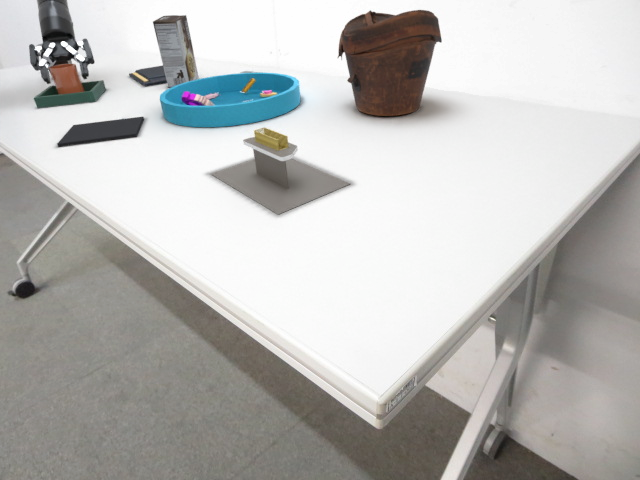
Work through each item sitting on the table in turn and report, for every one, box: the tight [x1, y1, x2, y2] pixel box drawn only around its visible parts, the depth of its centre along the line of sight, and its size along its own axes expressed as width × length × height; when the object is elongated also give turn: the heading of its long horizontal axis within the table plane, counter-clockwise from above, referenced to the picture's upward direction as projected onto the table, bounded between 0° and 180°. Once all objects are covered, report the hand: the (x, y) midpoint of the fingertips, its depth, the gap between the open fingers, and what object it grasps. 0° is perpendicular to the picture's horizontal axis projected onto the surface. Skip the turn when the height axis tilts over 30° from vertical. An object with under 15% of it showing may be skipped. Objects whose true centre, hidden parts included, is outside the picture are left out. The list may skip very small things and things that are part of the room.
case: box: [337, 9, 443, 117], centre depth 85 cm, size 18×20×18 cm
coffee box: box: [152, 14, 199, 88], centre depth 117 cm, size 9×6×16 cm
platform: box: [210, 126, 351, 215], centre depth 61 cm, size 12×18×7 cm, turn 39°
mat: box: [56, 116, 145, 148], centre depth 88 cm, size 14×12×1 cm
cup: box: [48, 63, 85, 94], centre depth 113 cm, size 6×6×8 cm
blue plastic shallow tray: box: [159, 72, 301, 128], centre depth 97 cm, size 30×30×6 cm
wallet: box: [128, 64, 167, 87], centre depth 131 cm, size 20×2×15 cm
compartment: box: [33, 79, 107, 109], centre depth 114 cm, size 14×14×2 cm
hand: (66, 79), depth 112 cm, fingers open, 8 cm apart
